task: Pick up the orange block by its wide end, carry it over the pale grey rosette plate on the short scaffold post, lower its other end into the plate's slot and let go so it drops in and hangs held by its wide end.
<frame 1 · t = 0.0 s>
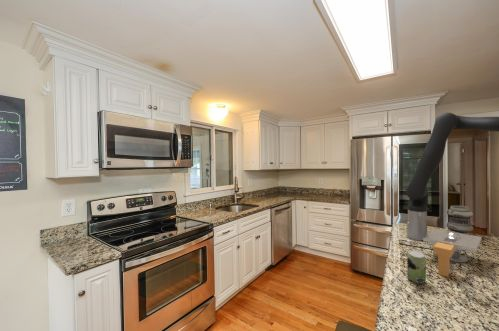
orange block: (444, 273, 96), on the countertop
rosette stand: (453, 258, 109), on the countertop
apothecary jar: (459, 236, 138), on the countertop
beverage can: (416, 281, 91), on the countertop
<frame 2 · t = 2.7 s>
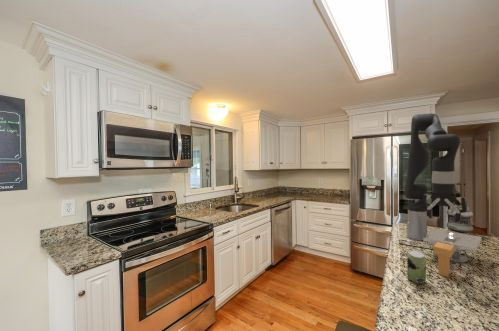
hand: (443, 220, 95), 23 cm above the countertop, tool pointing down, fingers open, 8 cm apart
nothing on the countertop moved.
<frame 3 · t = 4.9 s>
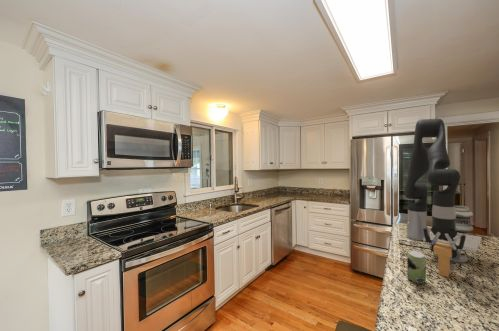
hand: (443, 255, 96), 8 cm above the countertop, tool pointing down, fingers closed on orange block, 5 cm apart
orange block: (444, 273, 96), on the countertop, touching gripper
everything else where it was.
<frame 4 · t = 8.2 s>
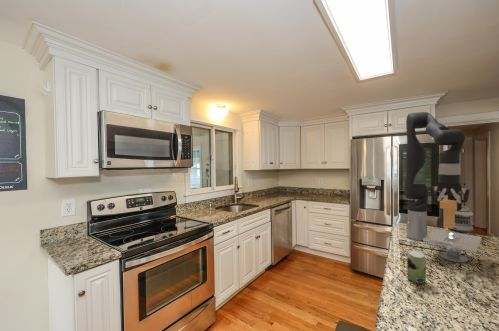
hand: (449, 209, 103), 25 cm above the countertop, tool pointing down, fingers closed on orange block, 5 cm apart
orange block: (449, 226, 104), point 17 cm above the countertop, touching gripper
everything else where it was.
when the fingers open (12 cm above the countertop, at t = 11.4 s): orange block drops 2 cm, resting on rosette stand.
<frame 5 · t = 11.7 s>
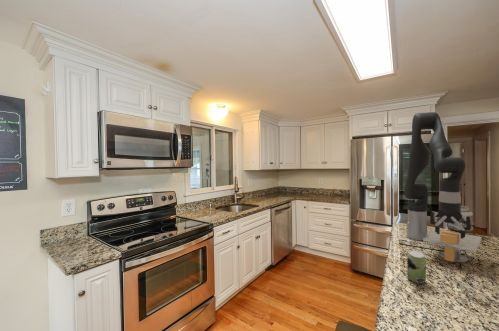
hand: (449, 235, 104), 13 cm above the countertop, tool pointing down, fingers open, 8 cm apart
orange block: (449, 259, 104), point 2 cm above the countertop, touching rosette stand
everything else where it was.
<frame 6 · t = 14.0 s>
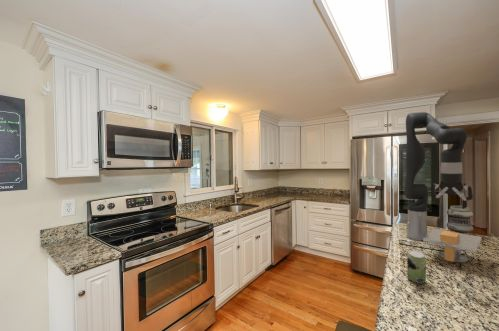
hand: (451, 207, 104), 26 cm above the countertop, tool pointing down, fingers open, 8 cm apart
nothing on the countertop moved.
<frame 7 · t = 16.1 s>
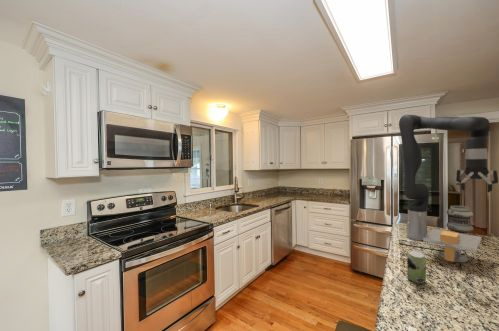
hand: (476, 191, 110), 32 cm above the countertop, tool pointing down, fingers open, 8 cm apart
nothing on the countertop moved.
at the end: orange block 0.0 cm from the target spot on the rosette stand, point 2.0 cm above the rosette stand's base; orange block tilted 0° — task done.
